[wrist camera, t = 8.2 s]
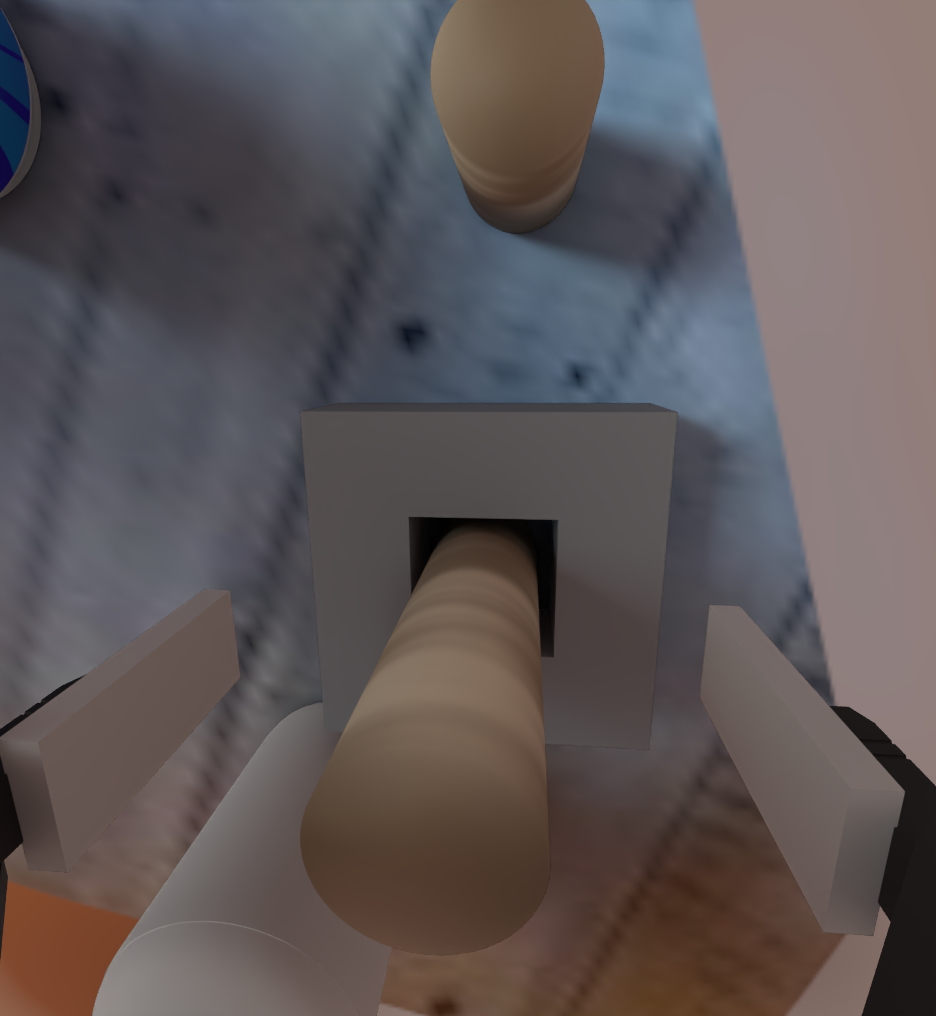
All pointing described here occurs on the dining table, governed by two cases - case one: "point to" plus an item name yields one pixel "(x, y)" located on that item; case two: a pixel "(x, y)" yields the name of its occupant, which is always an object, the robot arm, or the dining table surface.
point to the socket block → (499, 495)
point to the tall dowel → (444, 760)
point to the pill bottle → (250, 908)
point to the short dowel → (518, 103)
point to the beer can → (16, 110)
